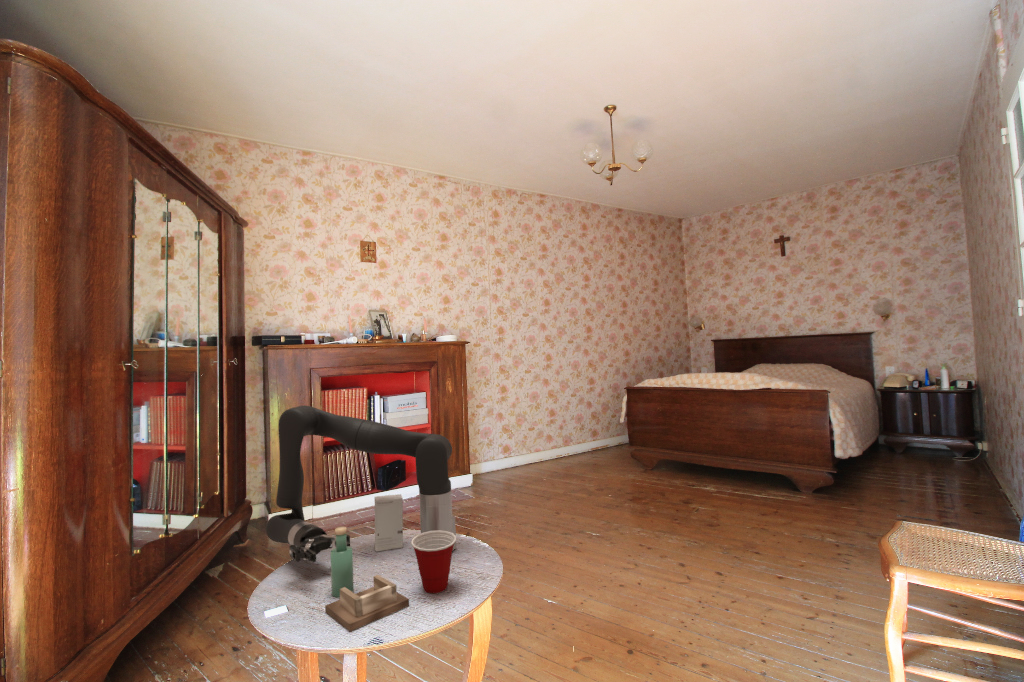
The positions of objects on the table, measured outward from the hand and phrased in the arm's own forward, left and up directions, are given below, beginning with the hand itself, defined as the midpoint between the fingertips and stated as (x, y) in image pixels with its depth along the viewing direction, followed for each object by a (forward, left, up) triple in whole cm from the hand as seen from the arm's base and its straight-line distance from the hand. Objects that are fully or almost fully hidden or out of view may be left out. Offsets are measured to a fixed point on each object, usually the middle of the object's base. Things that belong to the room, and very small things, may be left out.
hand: (331, 552), depth 122 cm
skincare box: (-23, -12, -8) cm, 27 cm away
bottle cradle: (0, +18, -8) cm, 20 cm away
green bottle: (0, +6, -8) cm, 10 cm away
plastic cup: (-16, +22, -8) cm, 28 cm away
